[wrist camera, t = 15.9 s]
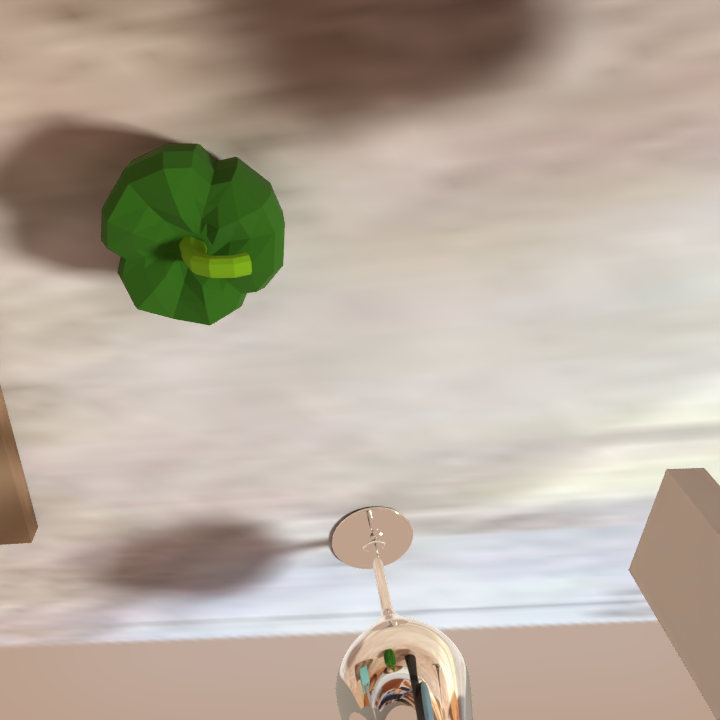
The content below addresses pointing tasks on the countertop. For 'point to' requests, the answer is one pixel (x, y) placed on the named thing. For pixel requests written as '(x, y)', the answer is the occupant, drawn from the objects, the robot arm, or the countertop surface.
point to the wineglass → (395, 638)
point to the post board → (13, 489)
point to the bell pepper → (193, 232)
